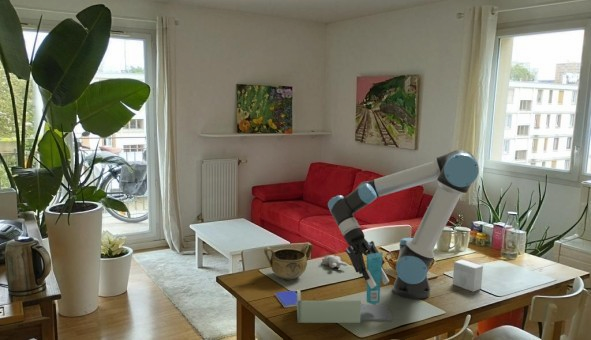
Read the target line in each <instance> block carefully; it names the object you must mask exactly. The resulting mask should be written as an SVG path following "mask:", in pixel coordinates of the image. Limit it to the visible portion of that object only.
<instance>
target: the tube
mask: <svg viewBox="0 0 591 340" xmlns="http://www.w3.org/2000/svg"><path fill="white" fill-rule="evenodd" d="M378 252H379V253H373V254H367V256H366V270H369V272H370V274H371V276H372V277H373V279H374V281H375V283H376V286H375V287H374V288H373V289H371V288H370V286H369V284H368V282H367V281H366V302H367V304H369V305H378V304H379V303H380V299H381V298H380V297H381V294H380V293H381V282H382V280H381V268H382V266H383V265H382V258H383V256H384V255H383V253H384V252H383V251H378Z"/></svg>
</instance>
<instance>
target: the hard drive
mask: <svg viewBox="0 0 591 340" xmlns="http://www.w3.org/2000/svg"><path fill="white" fill-rule="evenodd" d="M275 297H276V298H277V300H278V301H279V302H280V303H281V304H282V307H284V309H286V308H292V307H297V292H295V290H288V291H279V292H275ZM301 301H303V300H302V299H301Z"/></svg>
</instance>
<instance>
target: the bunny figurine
mask: <svg viewBox="0 0 591 340" xmlns="http://www.w3.org/2000/svg"><path fill="white" fill-rule="evenodd" d="M321 263H322V264H323V265H326V266H328V267H329V268H332V269H334V268H337V269H338V268H339V267H341V265H342V266H348V264H347V262H345V261H342V260H341V257H340V256H338V255H336V256H335V255H334V254H330V255H325V256H324V257H323V258H322V259H321Z"/></svg>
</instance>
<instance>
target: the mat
mask: <svg viewBox="0 0 591 340" xmlns="http://www.w3.org/2000/svg"><path fill="white" fill-rule="evenodd" d="M393 320H394V319H393V317H392V314H391V312H390V311H389V308H388V306H387V305H386V304H361V313H360V322H361V321H362V322H363V321H365V322H366V321H367V322H368V321H369V322H373V321H375V322H376V321H377V322H380V321H381V322H382V321H385V322H387V321H388V322H390V321H393Z"/></svg>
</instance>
